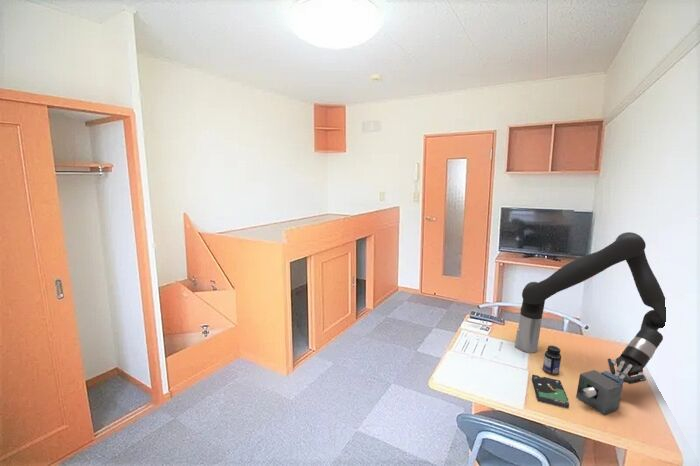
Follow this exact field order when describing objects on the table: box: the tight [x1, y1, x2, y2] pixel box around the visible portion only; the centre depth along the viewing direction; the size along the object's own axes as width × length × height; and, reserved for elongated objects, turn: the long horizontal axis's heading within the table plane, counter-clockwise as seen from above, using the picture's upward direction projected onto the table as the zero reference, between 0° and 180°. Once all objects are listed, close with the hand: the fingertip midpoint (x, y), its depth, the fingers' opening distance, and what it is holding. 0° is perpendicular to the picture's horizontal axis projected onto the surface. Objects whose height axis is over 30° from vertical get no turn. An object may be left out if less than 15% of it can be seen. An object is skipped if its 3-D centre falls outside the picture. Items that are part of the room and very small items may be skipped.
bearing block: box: [575, 369, 624, 416], centre depth 122 cm, size 8×10×10 cm
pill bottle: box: [542, 344, 562, 376], centre depth 141 cm, size 6×6×11 cm
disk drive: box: [531, 374, 570, 409], centre depth 128 cm, size 10×3×15 cm
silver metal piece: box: [582, 370, 625, 398], centre depth 122 cm, size 15×6×9 cm, turn 111°
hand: (613, 387), depth 125 cm, fingers closed
